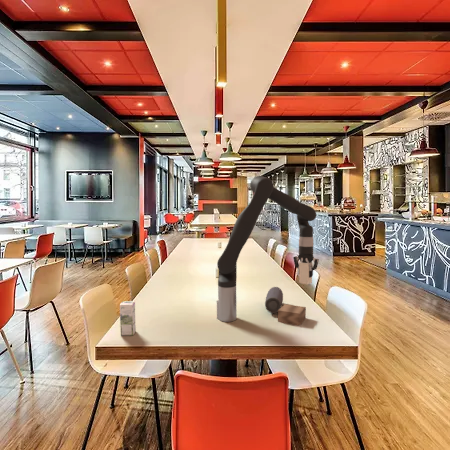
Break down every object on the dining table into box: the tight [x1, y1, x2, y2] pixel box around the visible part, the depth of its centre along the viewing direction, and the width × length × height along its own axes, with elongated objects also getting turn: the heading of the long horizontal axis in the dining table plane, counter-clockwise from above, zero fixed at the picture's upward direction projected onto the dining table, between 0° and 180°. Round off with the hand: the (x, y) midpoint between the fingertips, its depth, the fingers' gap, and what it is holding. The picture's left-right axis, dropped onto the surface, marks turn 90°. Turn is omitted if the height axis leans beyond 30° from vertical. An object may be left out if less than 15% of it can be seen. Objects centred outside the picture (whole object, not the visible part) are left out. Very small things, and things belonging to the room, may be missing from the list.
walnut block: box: [277, 303, 307, 326], centre depth 173 cm, size 11×11×6 cm
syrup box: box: [119, 300, 137, 337], centre depth 157 cm, size 6×6×14 cm
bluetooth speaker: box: [264, 286, 284, 314], centre depth 191 cm, size 23×9×10 cm, turn 168°
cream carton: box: [298, 262, 313, 285], centre depth 185 cm, size 5×5×12 cm
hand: (305, 276), depth 185 cm, fingers closed on cream carton, 5 cm apart
